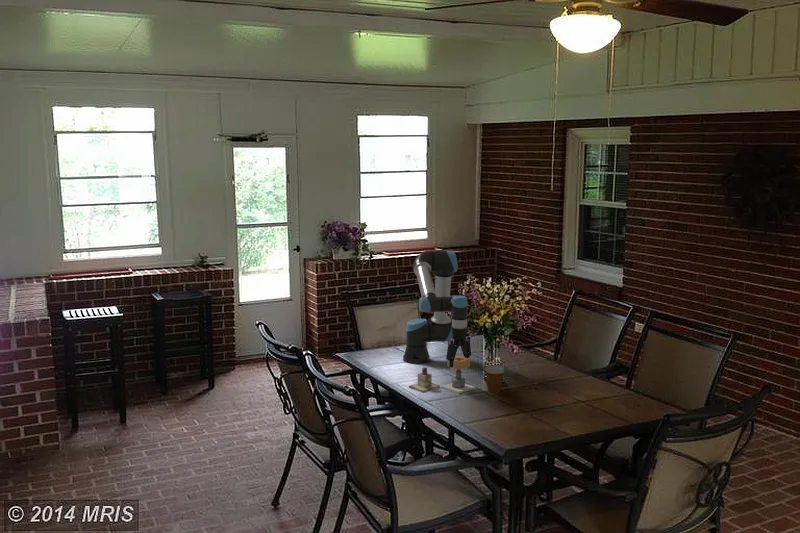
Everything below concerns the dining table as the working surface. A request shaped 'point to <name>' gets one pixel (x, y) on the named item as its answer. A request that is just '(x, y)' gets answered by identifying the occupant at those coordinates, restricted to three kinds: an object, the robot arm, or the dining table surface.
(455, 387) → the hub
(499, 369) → the disposable coffee cup
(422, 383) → the stand
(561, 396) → the dining table surface
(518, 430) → the dining table surface
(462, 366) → the ring
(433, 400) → the dining table surface
